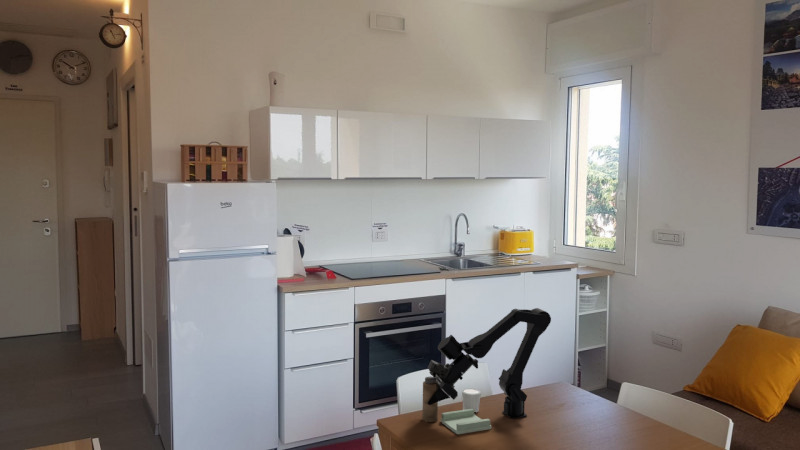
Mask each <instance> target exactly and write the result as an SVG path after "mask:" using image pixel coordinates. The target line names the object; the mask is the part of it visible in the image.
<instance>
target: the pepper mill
mask: <svg viewBox="0 0 800 450" xmlns="http://www.w3.org/2000/svg"><path fill="white" fill-rule="evenodd" d="M436 384H437V385H438V382H436V378H435V377H433V376H431V377H430V376H426V377H425V378H424V381H423V382H422V421H423V422H424V421H425V423H428V422H433V423H436V422H438V411H439V410H438V408H439V407H438V406H439V403H438V402H436V403H434V404H431V405H429V404H427V402H428V401H429V399H430V398H431V396H432V395H433V394H434V392H435V391H436ZM435 421H436V422H435Z"/></svg>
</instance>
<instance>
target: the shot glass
mask: <svg viewBox="0 0 800 450" xmlns="http://www.w3.org/2000/svg"><path fill="white" fill-rule="evenodd" d="M481 393H482V392H481V390H479V389H476V388H464V389H462V390H461V399H462V410H465V409H474V412H476V413H478V412H479V411H480V401H481Z"/></svg>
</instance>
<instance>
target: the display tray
mask: <svg viewBox="0 0 800 450" xmlns="http://www.w3.org/2000/svg"><path fill="white" fill-rule="evenodd" d="M440 421H441V422H442V423H441V422H440ZM440 421H439V422H440V423H441V424H443V425H444V426H445V427H447V428H448V429H449V430H451V432H453V433H454V434H456V435H463V434H469V433H475V432H480V431H487V430H492V427H493V426H492V425H491V419H489V418H484V419H482V418H480V416H479V417H478V416H477V415H476V414H475V413H474V409H465V410H463V409H460V410H454V411H447V412H446V411H445V412H441V418H440Z"/></svg>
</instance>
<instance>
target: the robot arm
mask: <svg viewBox="0 0 800 450" xmlns="http://www.w3.org/2000/svg"><path fill="white" fill-rule="evenodd" d="M551 322H552V317H551V315H550V314H549V313H548V312H547V311H546V310H544V309H541V308H539V307H536V308H532V309H518V308H513V309H511V311H510V312H509V313H508V314H507V315H505V316H504V317H503V318H501V320H500V321H498V322H497V323H495V324H494V325H493V326H492V327H491V328H489V329H488V330H487V331H485V332H484V333H481V334H478V335H476V336H474V337H472V338H471V339H469V340H468V341H466V342H459V341H457V339H456V337H454V336H453V334H450V335H449V336H447V337H445V338H444V339H441V341H440V342H439V343H438V345H437V349H438V350H439V351H440V352H441V354H443V355H444V356H445V358H447V360H449V361H451V360H453V361H451V363H446V364H445V365H444V364H443V363H441V362H437V361H435V360H433V359H431V360H430V361H429V363H428V366H427V370H428V371H429V374H430V375H431V376H429V377H435V378H436V382H438V385H437V384H436V391H435V392H434V394H433V395H432V396H431V398H430V399H429V401H428V402H427V404H429V405H431V404H434V403H436V402H441V401H444V400H447V399H452V401H454V400H456V399H457V398H458V396H459V395H458V393H459V392H458V391H457V390H456V389H455V384H456V383H457V382H458V381H459V380H460V381H462V380H463V379H464V377H463V376H464V375H465V374H466V373H467V372H468V371H469V369H470V368H471V367H472V366H473V367H474V368H475V369H476V370H477V369H479V360H478V359H483V358H484V357H485V356H487V355H488V353H489V352H490V351H491V350H492V348H493V346H494V344H495V343H496V342H497V341H498V340H500V339H501V338H502V337H503V336H505V334H507V333H508V332H509V331H510V330H511V329H513V328H514V327H515V326H517V325H518V324H519V323H526V331H525V334H524V336H523V338H522V340H521V342H520V345H519V347H518V349H517V352H516V353H515V356H514V358H513V360H512V362H511V365H510V367H509V368H507V370H506V369H504V368H503V369H502V371H501V374H500V377H498V385H499V388H500V390H502V391H503V393H504V395H505V397H504V401H503V410H502V411H501V413H502V414H503V415H505V416H506V417H508V418H510V419H517V418H518V419H519V418H525V417H528V414H527V413H525V402H526V401H527V397H528V395H527V394H526V393H525V392H524V391H523V390H522V385H523V382H524V381H523V377H524V376H523V375H524V371H525V369H526V367H527V364H528V362H529V360H530V358H531V356H532V353H533V351H534V349H535V346H536V345H537V342H538V339H539V337H540V336H541V335H543V334H544V333H545V331H546V330H547V328H548V327H549V326H550V324H551ZM464 352H465V353H466V354H465V353H464ZM473 357H474V358H473Z"/></svg>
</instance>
